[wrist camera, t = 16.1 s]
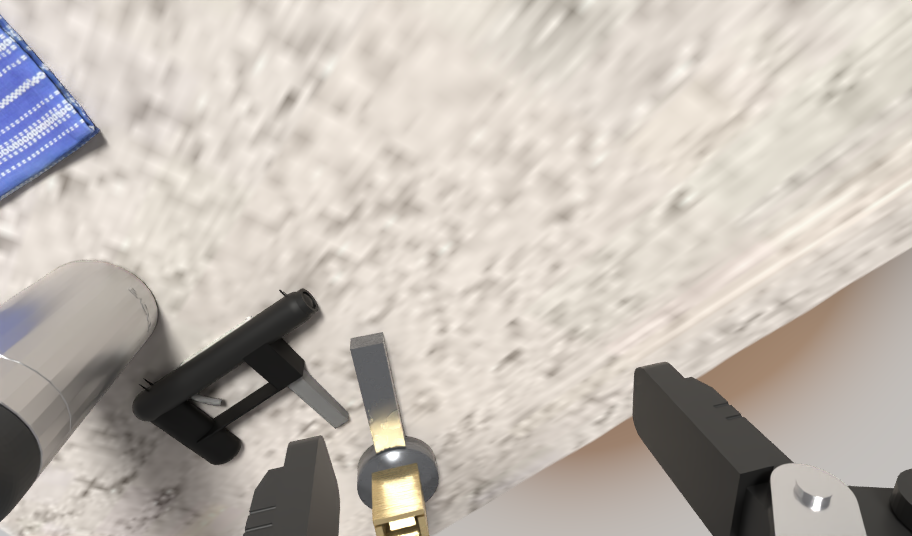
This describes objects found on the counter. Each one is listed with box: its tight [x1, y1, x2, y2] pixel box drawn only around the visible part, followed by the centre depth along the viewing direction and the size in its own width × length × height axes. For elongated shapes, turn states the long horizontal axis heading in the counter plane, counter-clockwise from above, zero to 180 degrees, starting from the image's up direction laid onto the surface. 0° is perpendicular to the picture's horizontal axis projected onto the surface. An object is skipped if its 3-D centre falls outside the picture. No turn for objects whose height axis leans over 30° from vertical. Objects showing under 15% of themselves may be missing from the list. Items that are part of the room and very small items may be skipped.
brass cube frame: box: [372, 463, 429, 536], centre depth 50 cm, size 5×5×6 cm
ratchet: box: [350, 332, 439, 530], centre depth 49 cm, size 9×22×7 cm, turn 7°
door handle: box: [132, 289, 348, 465], centre depth 47 cm, size 3×20×16 cm
